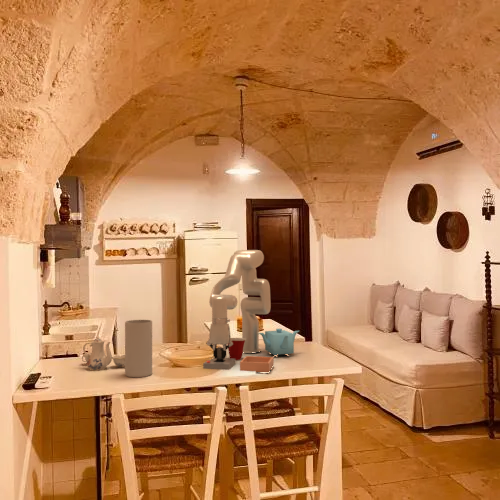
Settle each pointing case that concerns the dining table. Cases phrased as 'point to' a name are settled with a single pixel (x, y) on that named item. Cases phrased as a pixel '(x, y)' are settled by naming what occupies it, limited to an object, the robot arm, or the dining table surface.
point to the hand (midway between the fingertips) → (219, 357)
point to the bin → (257, 364)
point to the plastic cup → (236, 348)
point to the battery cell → (219, 354)
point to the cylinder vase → (138, 348)
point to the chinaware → (101, 356)
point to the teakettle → (279, 341)
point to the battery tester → (219, 364)
